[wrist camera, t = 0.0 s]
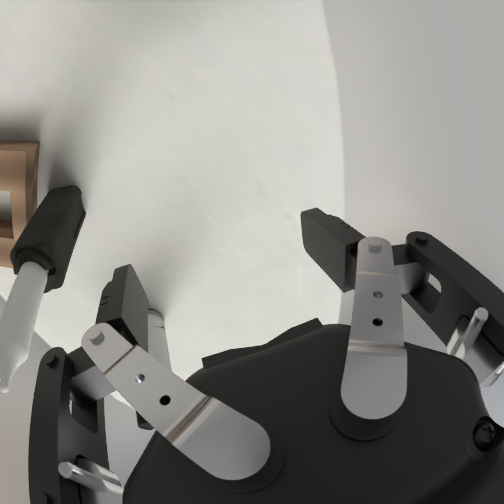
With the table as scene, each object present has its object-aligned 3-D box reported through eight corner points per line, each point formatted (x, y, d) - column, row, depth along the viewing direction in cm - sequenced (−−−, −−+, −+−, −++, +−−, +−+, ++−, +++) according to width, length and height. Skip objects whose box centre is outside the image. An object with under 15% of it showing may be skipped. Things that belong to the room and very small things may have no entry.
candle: (45, 191, 26) (-41, 367, 7) (79, 183, 28) (7, 372, 9) (54, 225, 29) (0, 406, 10) (87, 220, 31) (49, 410, 12)
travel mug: (166, 308, 44) (187, 420, 29) (161, 332, 47) (180, 435, 32) (129, 305, 41) (138, 422, 26) (128, 330, 44) (138, 436, 29)
